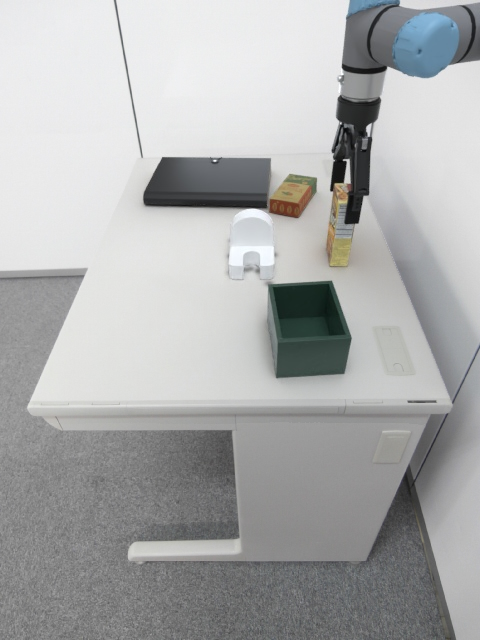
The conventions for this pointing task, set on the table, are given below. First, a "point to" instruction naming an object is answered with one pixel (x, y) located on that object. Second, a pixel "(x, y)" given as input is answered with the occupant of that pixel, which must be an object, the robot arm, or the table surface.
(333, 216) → the candy box
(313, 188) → the carton
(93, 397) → the table surface
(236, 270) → the white plastic bracket
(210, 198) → the file folder
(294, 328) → the open storage box
